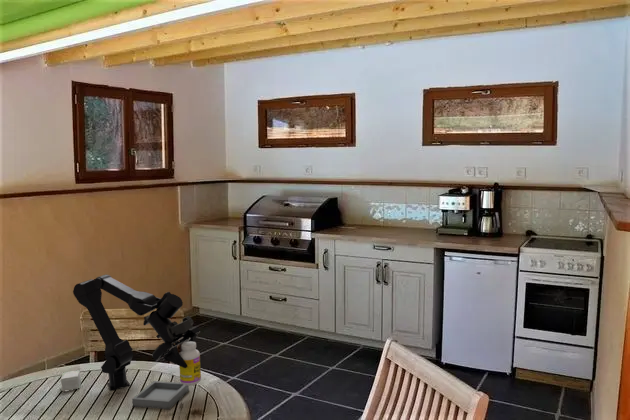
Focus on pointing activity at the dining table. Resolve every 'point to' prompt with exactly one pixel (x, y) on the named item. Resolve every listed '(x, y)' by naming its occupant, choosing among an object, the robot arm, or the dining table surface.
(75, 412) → the dining table surface
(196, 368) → the supplement bottle
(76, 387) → the small box
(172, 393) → the tray
